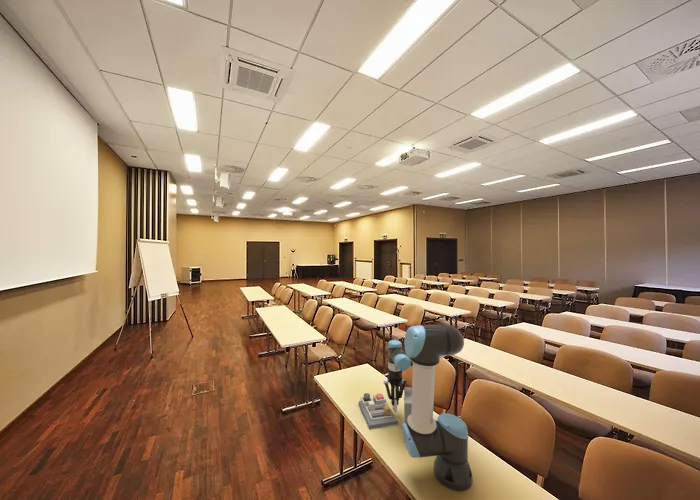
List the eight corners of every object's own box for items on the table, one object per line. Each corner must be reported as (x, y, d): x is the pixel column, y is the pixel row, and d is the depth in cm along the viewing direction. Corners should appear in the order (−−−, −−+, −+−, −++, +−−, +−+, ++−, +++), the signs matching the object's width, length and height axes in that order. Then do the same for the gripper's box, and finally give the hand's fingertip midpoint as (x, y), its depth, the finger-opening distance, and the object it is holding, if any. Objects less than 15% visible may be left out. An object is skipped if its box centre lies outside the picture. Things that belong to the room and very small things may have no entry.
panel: (397, 424, 142) (397, 415, 142) (369, 429, 138) (369, 419, 138) (383, 400, 163) (383, 392, 163) (358, 404, 160) (358, 396, 159)
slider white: (374, 410, 150) (374, 403, 150) (369, 411, 149) (369, 404, 149) (373, 407, 153) (373, 400, 153) (368, 408, 152) (368, 401, 152)
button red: (383, 401, 157) (383, 396, 157) (377, 402, 156) (377, 397, 156) (381, 398, 160) (381, 393, 160) (375, 399, 160) (375, 394, 160)
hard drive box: (420, 446, 126) (420, 405, 126) (403, 443, 128) (403, 403, 127) (418, 424, 142) (418, 387, 141) (403, 422, 143) (403, 386, 143)
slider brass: (390, 415, 145) (390, 408, 145) (385, 416, 145) (385, 409, 145) (388, 412, 148) (388, 405, 148) (383, 413, 148) (383, 406, 148)
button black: (370, 401, 155) (370, 396, 155) (364, 402, 154) (364, 397, 154) (368, 398, 159) (368, 392, 158) (363, 398, 158) (363, 393, 158)
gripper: (402, 364, 152) (403, 404, 153) (381, 367, 149) (381, 407, 150) (408, 370, 145) (408, 412, 145) (386, 373, 142) (386, 416, 143)
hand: (394, 410), depth 148 cm, fingers closed
